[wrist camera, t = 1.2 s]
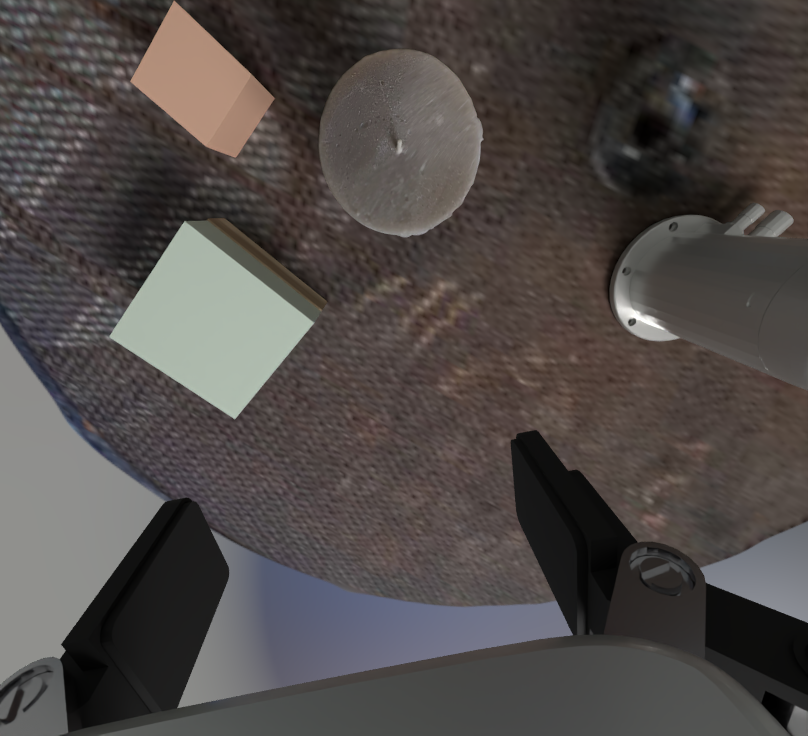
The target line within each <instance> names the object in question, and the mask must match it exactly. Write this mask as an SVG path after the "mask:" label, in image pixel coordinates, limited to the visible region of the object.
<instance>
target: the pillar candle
mask: <svg viewBox="0 0 808 736" xmlns="http://www.w3.org/2000/svg"><path fill="white" fill-rule="evenodd" d="M482 134H483V129H482V125H481V122H480V120H479V118H477V113H476V111H475V108H474V106H473V103H472V100H471V97H470V96H469V94H468V93H467V91H466V89H465V88H464V86H463V84H462V83H461V81H460V79H459V78H458V77H457V76H456V75H455V74H454V73H453V72H452V71H451V70H450V69H449V68H448V67H447V66H446V65H444V64H443V63H442V62H441V61H439V60H438V59H436V58H435V57H433V56H432V55H429V54H427V53H424V52H420V51H417V50H412V49H389V50H383V51H379V52H376V53H373V54H370V55H366V56H364V57H363V58H362V59H361V60H360V61H358V62H357V63H356V64H354V65H353V66H352V67H351V68H350V69H348V70H347V71H346V72H345V73H344V74H343V75H342V76H341V78H340V79H339V80H338V82H337V83H336V84H335V86H334V87H333V89H332V90H331V92H330V94H329V96H328V98H327V100H326V103H325V107H324V109H323V113H322V116H321V120H320V127H319V138H318V150H319V158H320V162H321V168H322V172H323V174H324V177H325V180H326V182H327V185H328V187H329V189H330V191H331V192H332V194H333V196H334V197H335V199H336V200H337V201H338V203H339V204H340V205H341V207H342V208H343V209H344V210H345V211H346V212H347V213H348V214H350V215H351V216H352V217H353V218H354V219H355V220H357V221H358V222H360V223H361V224H362V225H364V226H366V227H368V228H370V229H373V230H375V231H378V232H381V233H386V234H393V235H399V236H402V237H408V236H410V235H419V234H423V233H425V232H427V231H428V229H433V228H434V226H436V225H438V224H439V223H441V222H442V221H444V220H445V219H447V218H449V217H450V216H452V212H453V211H454V210H455V209H456V208H458V207H459V206H460V205H461V204H462V203H463V200H464V198H465V196H466V195H467V193H468V191H469V189H470V187H471V185H473V183H474V178H475V175H476V172H477V167H478V164H479V161H480V148H481V147H480V143H481V141H482V140H484V139H483V137H482Z"/></svg>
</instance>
